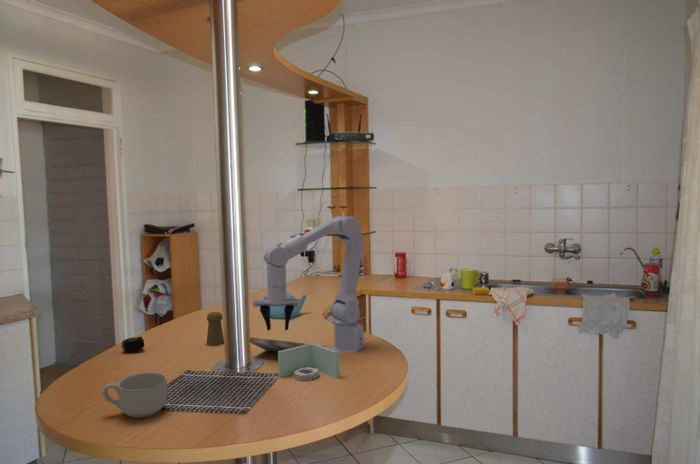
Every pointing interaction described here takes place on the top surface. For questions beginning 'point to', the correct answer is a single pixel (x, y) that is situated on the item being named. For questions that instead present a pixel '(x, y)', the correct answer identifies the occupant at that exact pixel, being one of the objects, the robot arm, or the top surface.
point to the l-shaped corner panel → (308, 362)
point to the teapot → (279, 311)
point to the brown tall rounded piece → (214, 329)
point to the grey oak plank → (273, 344)
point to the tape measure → (132, 343)
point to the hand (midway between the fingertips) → (277, 329)
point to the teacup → (139, 394)
